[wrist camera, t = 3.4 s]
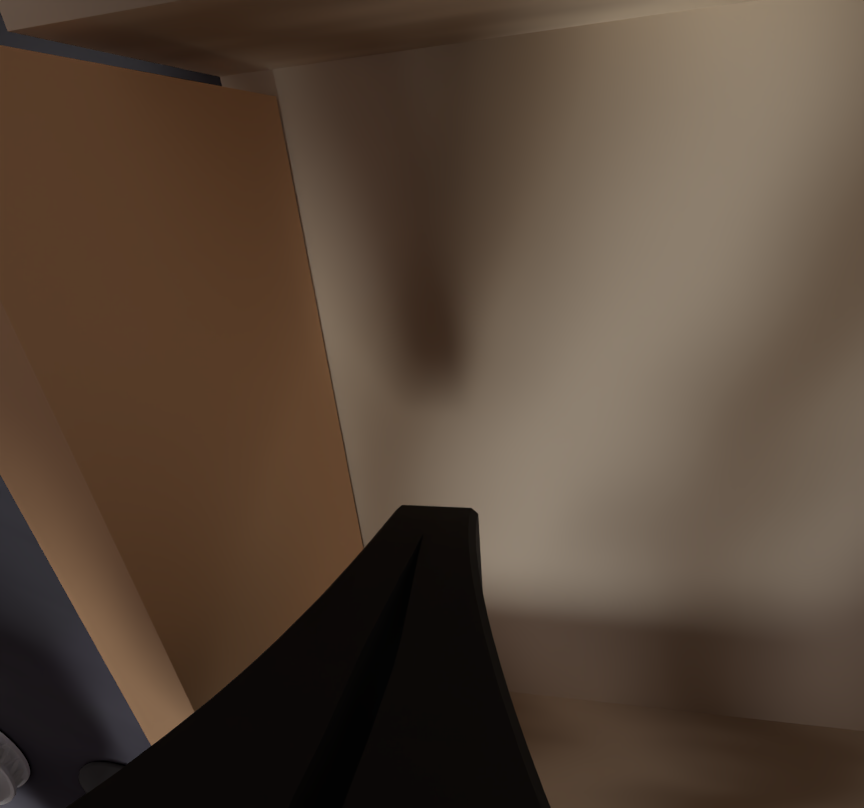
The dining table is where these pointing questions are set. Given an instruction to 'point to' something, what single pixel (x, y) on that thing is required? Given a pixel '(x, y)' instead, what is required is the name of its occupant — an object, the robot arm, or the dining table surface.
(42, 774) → the dining table surface
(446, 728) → the robot arm
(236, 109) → the panel
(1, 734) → the vase
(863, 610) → the cart bed
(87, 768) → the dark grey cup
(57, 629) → the dining table surface
